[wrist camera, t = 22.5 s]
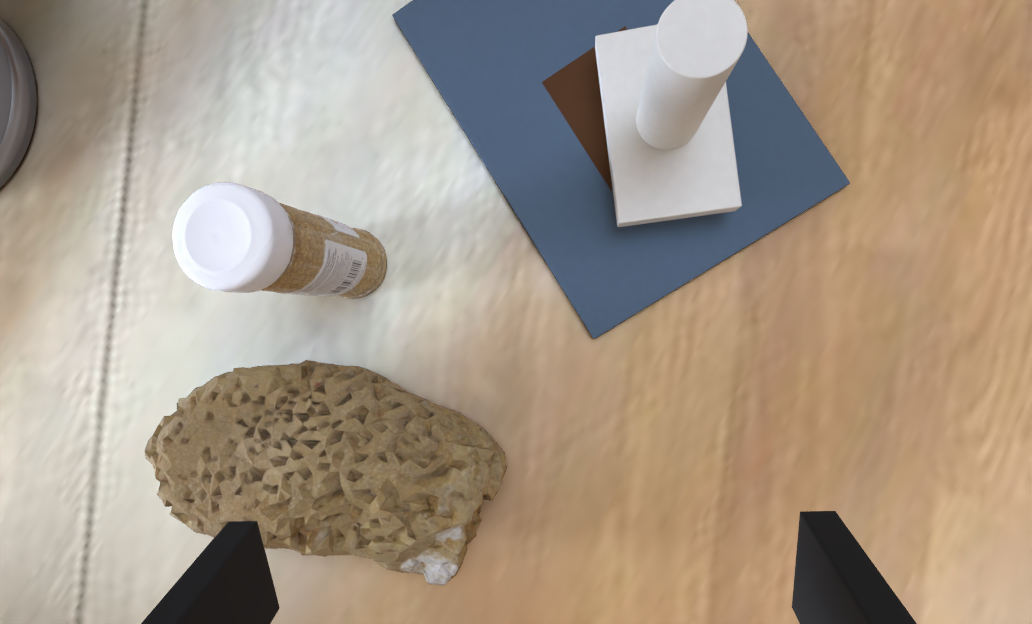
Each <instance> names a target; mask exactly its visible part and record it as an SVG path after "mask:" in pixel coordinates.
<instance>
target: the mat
mask: <svg viewBox="0 0 1032 624" xmlns="http://www.w3.org/2000/svg"><path fill="white" fill-rule="evenodd" d="M673 1H674V0H413V1H411V2H410V3H408V4H407V5H406V6H404V7H403V8H401V9H400V10H399V11H397V12H396V13H394V14H393V18H394V19H395V21H396V22H397V24H398V26H399V27H400V29H401V30H402V32H403V34H404V35H405V37H406V38H407V40H408V42H409V43H410V45H411V46H412V48H413V50H414V51H415V53H416V54H417V56H418V58H419V59H420V61H421V62H422V64H423V66H424V67H425V69H426V70H427V72H428V74H429V75H430V77H431V79H432V80H433V82H434V83H435V85H436V87H437V88H438V90H439V91H440V93H441V95H442V96H443V98H444V99H445V101H446V103H447V104H448V106H449V107H450V109H451V111H452V112H453V114H454V115H455V117H456V119H457V120H458V122H459V123H460V125H461V127H462V128H463V130H464V132H465V133H466V135H467V136H468V138H469V140H470V141H471V143H472V144H473V146H474V148H475V149H476V151H477V152H478V154H479V156H480V157H481V159H482V160H483V162H484V164H485V165H486V167H487V168H488V170H489V172H490V173H491V175H492V176H493V178H494V180H495V181H496V183H497V185H498V186H499V188H500V189H501V191H502V193H503V194H504V196H505V197H506V199H507V201H508V202H509V204H510V205H511V207H512V209H513V210H514V212H515V213H516V215H517V217H518V218H519V220H520V221H521V223H522V225H523V226H524V228H525V229H526V231H527V233H528V234H529V236H530V237H531V239H532V241H533V242H534V244H535V246H536V247H537V249H538V250H539V252H540V254H541V255H542V257H543V258H544V260H545V262H546V263H547V265H548V266H549V268H550V270H551V271H552V273H553V274H554V276H555V278H556V279H557V281H558V282H559V284H560V286H561V287H562V289H563V290H564V292H565V294H566V295H567V297H568V299H569V300H570V302H571V303H572V305H573V307H574V308H575V310H576V311H577V313H578V315H579V316H580V318H581V319H582V321H583V323H584V324H585V326H586V327H587V329H588V331H589V332H590V334H591V335H592V337H593V338H594V339H595V338H597V337H598V336H600V335H602V334H603V333H605V332H607V331H608V330H610V329H611V328H613V327H615V326H616V325H618V324H620V323H621V322H623V321H625V320H626V319H628V318H630V317H631V316H633V315H635V314H636V313H638V312H639V311H641V310H643V309H644V308H646V307H648V306H649V305H651V304H653V303H654V302H656V301H658V300H659V299H661V298H662V297H664V296H666V295H667V294H669V293H671V292H672V291H674V290H676V289H677V288H679V287H681V286H682V285H684V284H686V283H687V282H689V281H690V280H692V279H694V278H695V277H697V276H699V275H700V274H702V273H704V272H705V271H707V270H709V269H710V268H712V267H714V266H715V265H717V264H718V263H720V262H722V261H723V260H725V259H727V258H728V257H730V256H732V255H733V254H735V253H737V252H738V251H740V250H741V249H743V248H745V247H746V246H748V245H750V244H751V243H753V242H755V241H756V240H758V239H760V238H761V237H763V236H765V235H766V234H768V233H769V232H771V231H773V230H774V229H776V228H778V227H779V226H781V225H783V224H784V223H786V222H788V221H789V220H791V219H793V218H794V217H796V216H797V215H799V214H801V213H802V212H804V211H806V210H807V209H809V208H811V207H812V206H814V205H816V204H817V203H819V202H820V201H822V200H824V199H825V198H827V197H829V196H830V195H832V194H834V193H835V192H837V191H839V190H840V189H842V188H844V187H845V186H847V185H848V184H850V182H849V181H848V179H847V178H846V176H845V175H844V173H843V172H842V170H841V169H840V167H839V166H838V164H837V163H836V161H835V160H834V158H833V157H832V155H831V154H830V153H829V151H828V150H827V148H826V147H825V145H824V144H823V142H822V141H821V139H820V138H819V136H818V135H817V133H816V132H815V130H814V129H813V127H812V126H811V125H810V123H809V122H808V120H807V119H806V117H805V116H804V114H803V113H802V111H801V110H800V108H799V107H798V105H797V104H796V102H795V101H794V99H793V98H792V97H791V95H790V94H789V92H788V91H787V89H786V88H785V86H784V85H783V83H782V82H781V80H780V79H779V77H778V76H777V74H776V73H775V71H774V70H773V69H772V67H771V66H770V64H769V63H768V61H767V60H766V58H765V57H764V55H763V54H762V52H761V51H760V49H759V48H758V46H757V45H756V44H755V42H754V41H753V39H752V38H751V36H750V35H749V33H748V36H747V42H746V45H745V48H744V51H743V52H742V54H741V56H740V58H739V60H738V61H737V63H736V65H735V67H734V68H733V70H732V72H731V73H730V75H729V77H728V79H727V80H726V87H727V95H728V102H729V110H730V118H731V125H732V133H733V141H734V149H735V156H736V164H737V172H738V180H739V187H740V195H741V203H742V206H741V207H740V208H739V209H737V210H736V211H732V212H725V213H718V214H711V215H704V216H696V217H689V218H682V219H675V220H668V221H660V222H653V223H646V224H639V225H632V226H624V227H618V226H617V220H616V212H615V204H614V196H613V188H612V180H611V172H610V164H609V156H608V148H607V140H606V132H605V124H604V116H603V108H602V100H601V92H600V84H599V76H598V68H597V60H596V51H595V37H596V36H597V35H603V34H608V33H614V32H619V31H625V30H630V29H636V28H641V27H646V26H652V25H657V24H658V22H659V19H660V17H661V15H662V14H663V12H664V11H665V9H666V8H667V7H668V6H669V5H670V4H671V3H672V2H673Z"/></svg>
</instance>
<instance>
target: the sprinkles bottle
mask: <svg viewBox="0 0 1032 624" xmlns="http://www.w3.org/2000/svg"><path fill="white" fill-rule="evenodd" d="M172 239H173V248H174V252H175V256H176V258H177V261H178V263H179V265H180V266H181V268H182V269H183V271H184V272H185V273H186V274H187V276H188V277H190V278H191V279H192V280H193V281H194V282H196V283H197V284H199V285H201V286H203V287H205V288H208V289H211V290H216V291H223V292H234V293H250V292H255V291H259V290H262V291H273V292H277V293H285V294H299V295H314V296H341V297H346V298H349V299H355V298H361V297H364V296H367V295H368V294H370V293H371V292H373V291H374V290H375V289H376V288H377V287H378V286H379V285H380V283H381V282H382V279H383V278H384V275H385V273H386V263H387V261H386V255H385V250H384V248H383V246H382V245H381V243H380V242H379V241H378V239H377V238H375V237H374V236H373V235H372V234H370V233H369V232H367V231H365V230H362V229H357V228H350V227H349V226H347V225H345V224H342V223H339V222H336V221H334V220H331V219H328V218H325V217H322V216H319V215H314V214H311V213H309V212H305V211H301V210H298V209H296V208H293V207H290V206H287V205H284V204H281V203H278V202H277V201H276V200H275V199H273V198H272V197H270V196H269V195H267V194H265V193H263V192H261V191H258V190H255V189H252V188H249V187H246V186H243V185H240V184H236V183H231V182H218V183H213V184H210V185H207V186H204V187H202V188H200V189H199V190H197V191H196V192H194V193H193V194H192V195H191V196H190V197H189V198H188V199H187V200H186V201H185V202H184V203H183V205H182V206H181V208H180V210H179V211H178V214H177V216H176V219H175V222H174V227H173V237H172Z"/></svg>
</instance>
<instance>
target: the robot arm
mask: <svg viewBox="0 0 1032 624" xmlns="http://www.w3.org/2000/svg"><path fill="white" fill-rule="evenodd" d="M36 106H37V96H36V84H35V79H34V73H33V70H32V66H31V63H30V60H29V58H28V55H27V53H26V51H25V49H24V47H23V45H22V43H21V42H20V40H19V38H18V37H17V36H16V34H15V33H14V32H13V30H12V29H11V28H10V27H9V26H8V25H7V24H6V23H5V22H4V21H3V20H2V19H1V18H0V188H1V187H2V186H3V185H4V184H5V183H6V182H7V180H8V179H9V178H10V177H11V176H12V174H13V173H14V171H15V170H16V169H17V167H18V165H19V164H20V162H21V160H22V158H23V156H24V154H25V152H26V150H27V148H28V145H29V142H30V139H31V136H32V132H33V128H34V123H35V117H36ZM792 608H793V610H794V612H795V614H796V616H797V618H798V620H799V623H800V624H916V622H915V621H914V619H913V618H912V617H911V615H910V614H909V613H908V611H907V610H906V608H905V607H904V606H903V604H902V603H901V601H900V600H899V599H898V597H897V596H896V595H895V593H894V592H893V590H892V589H891V588H890V586H889V585H888V584H887V582H886V581H885V579H884V578H883V577H882V575H881V574H880V572H879V571H878V570H877V568H876V567H875V566H874V564H873V563H872V561H871V560H870V559H869V557H868V556H867V554H866V553H865V552H864V550H863V549H862V548H861V546H860V545H859V543H858V542H857V541H856V539H855V538H854V536H853V535H852V534H851V532H850V531H849V530H848V528H847V527H846V525H845V524H844V523H843V521H842V520H841V519H840V517H839V516H838V514H837V513H836V512H835V511H814V512H800V520H799V531H798V543H797V555H796V567H795V578H794V590H793V602H792ZM278 610H279V604H278V600H277V596H276V592H275V588H274V584H273V580H272V577H271V573H270V569H269V565H268V561H267V557H266V553H265V549H264V545H263V542H262V538H261V534H260V530H259V526H258V522H257V521H228V523H227V524H226V525H225V526H224V527H223V528H222V530H221V531H220V532H219V533H218V534H217V535H216V537H215V538H214V539H213V540H212V541H211V542H210V544H209V545H208V546H207V547H206V548H205V549H204V551H203V552H202V553H201V554H200V555H199V557H198V558H197V559H196V560H195V561H194V562H193V564H192V565H191V566H190V567H189V568H188V569H187V571H186V572H185V573H184V574H183V575H182V576H181V578H180V579H179V580H178V581H177V582H176V583H175V585H174V586H173V587H172V588H171V589H170V590H169V592H168V593H167V594H166V595H165V596H164V597H163V599H162V600H161V601H160V602H159V603H158V605H157V606H156V607H155V608H154V609H153V610H152V612H151V613H150V614H149V615H148V616H147V617H146V619H145V620H144V621H143V622H142V623H141V624H270V623H271V621H272V620H273V618H274V616H275V615H276V613H277V611H278Z"/></svg>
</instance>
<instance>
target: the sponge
mask: <svg viewBox="0 0 1032 624" xmlns="http://www.w3.org/2000/svg"><path fill="white" fill-rule="evenodd" d="M145 456H146V459H147V460H148V461H149V462H150V463H151V464H152V465H153V467H154V469H155V477H156V479H157V480H159V481H160V482H161V483H160V487H159V491H158V493H157V495H158V496H159V497H160V498H161V500H162V501H163V503H164V505H165V506H172V510H171V512H170V515H171V516H173V517H174V518H176V519H178V520H179V521H181V522H183V523H184V524H186V525H187V526H188V527H189V528H191V529H192V530H193V531H194V532H197V533H201V534H207V535H210V536H213V537H216V535H217V534H218V533H219V532H220V531H221V530H222V528H223V527H224V526H225V525H226V524H227V523H228V521H257V522H258V526H259V530H260V534H261V538H262V542H263V545H264V548H271V549H277V548H286V549H292V550H295V551H297V552H300V553H301V554H302V555H319V556H327V555H356V556H360V557H365V558H369V559H373V560H375V561H376V562H377V563H378V564H380V565H381V566H382V567H384V568H386V569H388V570H393V571H398V572H407V573H417V574H422V575H424V576H425V579H426V581H427V582H428V584H434V585H445V584H446V583H447V582H449V581H450V579H451V578H453V577H454V576H455V575H456V574H457V572H458V570H459V569H460V567H461V565H462V562H463V560H464V557H465V554H466V551H467V544H468V543H469V542H470V541H471V540H472V539H473V538H474V537H475V536H476V531H477V528H478V526H479V524H480V522H481V518H480V516H479V515H478V513H479V512H480V506H481V504H482V503H483V499H485V500H491V501H492V500H493V498H494V497H495V495H496V494H497V492H498V490H499V488H500V485H501V483H502V480H503V477H504V474H505V471H506V469H507V465H506V457H505V453H504V451H503V450H502V449H501V448H500V446H499V445H498V444H497V443H496V442H495V440H494V439H493V438H492V437H491V436H490V435H489V434H488V433H487V432H486V431H485V430H484V429H483V428H482V427H480V426H479V425H477V424H476V423H475V422H473V421H472V420H470V419H468V418H466V417H465V416H463V415H461V414H460V413H459V412H456V411H454V410H451V409H448V408H444V407H441V406H439V405H436V404H434V403H432V402H430V401H428V400H426V399H423V398H421V397H418V396H416V395H414V394H411V393H409V392H407V391H406V390H405V389H403V388H402V387H400V386H399V385H397V384H394V383H392V382H391V381H390V380H388V379H386V378H385V377H383V376H381V375H379V374H377V373H375V372H372V371H370V370H368V369H365V368H361V367H357V366H339V365H334V364H325V363H318V362H315V361H308V360H306V361H304V362H302V363H300V364H290V365H276V366H269V365H268V366H257V367H252V368H234V369H233V372H227V373H224V374H222V375H219V376H217V377H214V378H212V379H211V380H210V381H208V382H207V383H206V384H204V385H203V386H201V387H197V388H195V389H194V390H193V391H192V392H191V393H190V394H189V395H188V397H187V398H180V399H179V402H178V403H177V411H176V412H175V413H173V414H172V415H171V416H164V418H163V419H162V421H161V422H160V424H159V425H158V427H157V429H156V431H155V432H154V434H153V436H152V437H151V438H150V439H149V440H148V443H147V446H146V449H145Z"/></svg>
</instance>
